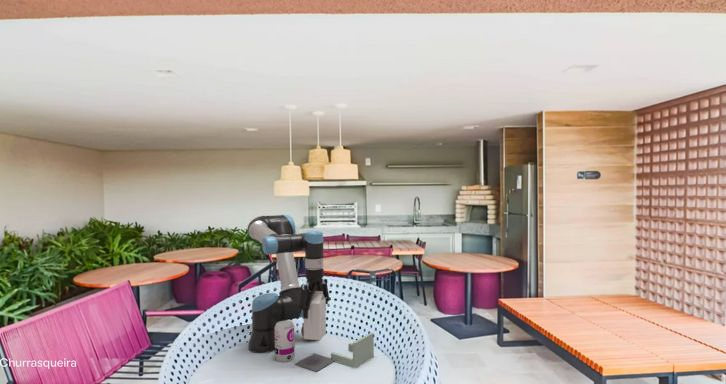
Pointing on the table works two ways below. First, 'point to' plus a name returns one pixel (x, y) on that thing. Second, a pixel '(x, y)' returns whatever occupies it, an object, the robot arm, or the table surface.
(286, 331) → the supplement can
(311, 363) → the mat
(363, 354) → the rack
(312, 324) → the milk carton
